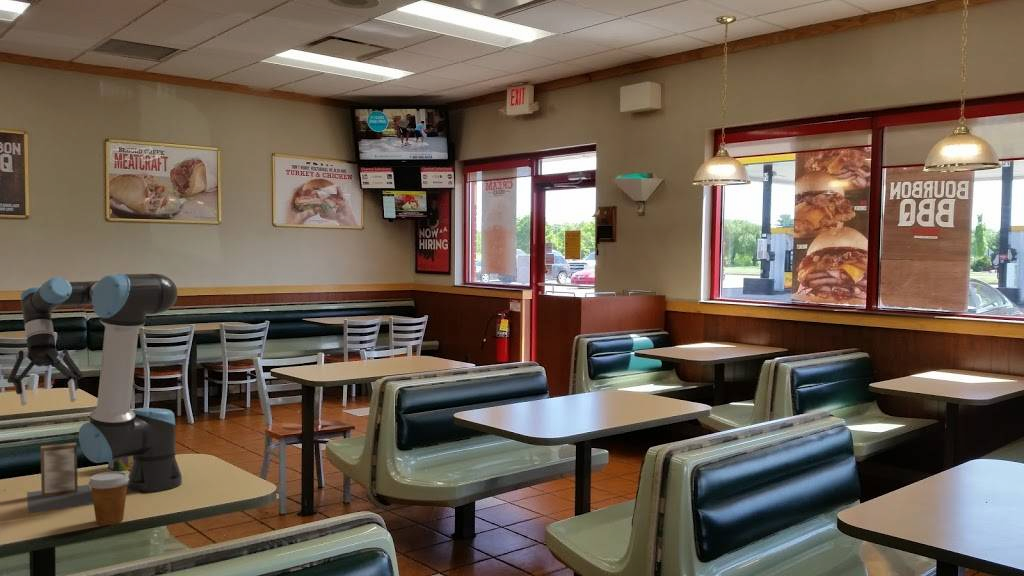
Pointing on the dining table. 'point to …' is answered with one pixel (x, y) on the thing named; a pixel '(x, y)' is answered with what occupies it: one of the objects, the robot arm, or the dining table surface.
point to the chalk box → (121, 464)
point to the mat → (59, 500)
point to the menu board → (59, 469)
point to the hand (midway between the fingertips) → (49, 402)
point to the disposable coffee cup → (109, 496)
